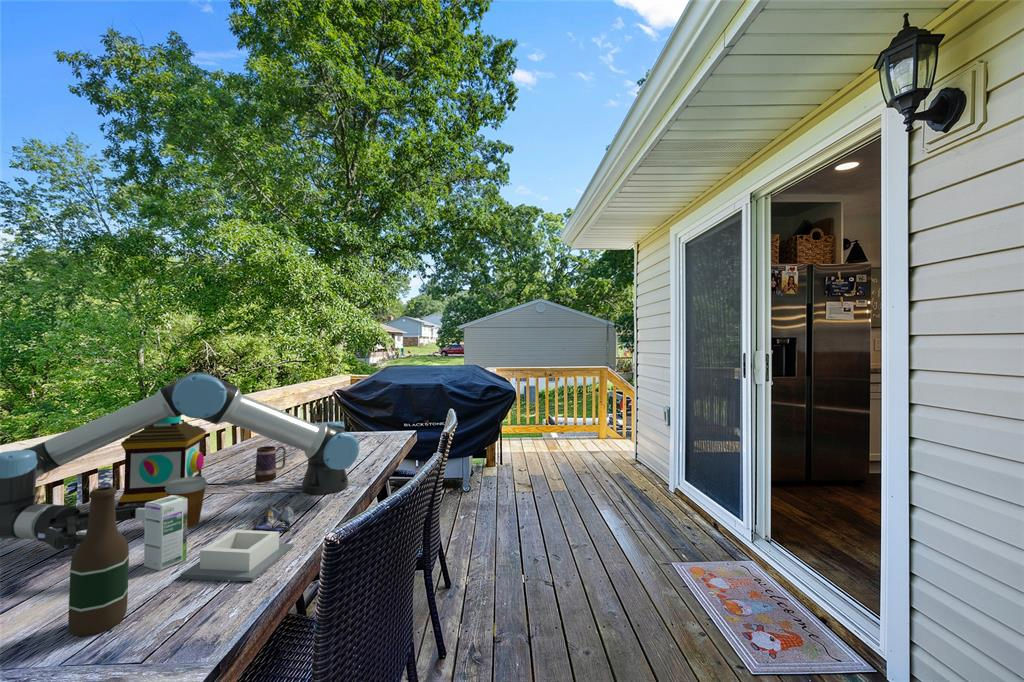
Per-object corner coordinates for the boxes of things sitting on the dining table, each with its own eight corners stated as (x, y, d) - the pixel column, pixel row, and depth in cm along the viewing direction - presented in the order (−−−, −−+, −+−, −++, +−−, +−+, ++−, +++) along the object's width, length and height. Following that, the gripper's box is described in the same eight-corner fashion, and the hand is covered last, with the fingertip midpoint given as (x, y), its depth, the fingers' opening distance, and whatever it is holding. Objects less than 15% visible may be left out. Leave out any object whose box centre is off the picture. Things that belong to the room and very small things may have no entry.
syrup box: (160, 571, 98) (162, 505, 98) (142, 566, 100) (144, 501, 100) (186, 560, 104) (188, 497, 104) (169, 555, 106) (171, 493, 106)
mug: (254, 483, 161) (255, 449, 162) (253, 478, 167) (254, 445, 168) (286, 479, 167) (287, 446, 167) (284, 474, 173) (285, 443, 173)
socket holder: (231, 545, 112) (232, 525, 112) (293, 548, 111) (294, 528, 111) (180, 578, 96) (180, 554, 96) (252, 582, 95) (253, 558, 95)
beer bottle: (93, 611, 83) (98, 482, 84) (138, 610, 84) (142, 482, 84) (54, 639, 76) (59, 496, 76) (103, 637, 76) (108, 495, 77)
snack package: (311, 521, 129) (277, 515, 132) (309, 500, 128) (275, 495, 131) (279, 545, 118) (243, 538, 121) (277, 523, 117) (241, 516, 120)
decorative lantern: (211, 489, 153) (214, 402, 154) (190, 510, 134) (193, 410, 135) (140, 494, 147) (143, 403, 147) (108, 516, 128) (111, 411, 128)
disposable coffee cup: (183, 533, 118) (185, 487, 118) (154, 529, 120) (155, 484, 120) (214, 520, 127) (215, 477, 127) (186, 516, 129) (187, 475, 129)
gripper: (102, 518, 116) (180, 521, 114) (-18, 564, 91) (80, 570, 89) (103, 488, 116) (181, 492, 114) (-17, 527, 91) (82, 532, 90)
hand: (137, 526), depth 102 cm, fingers open, 13 cm apart
